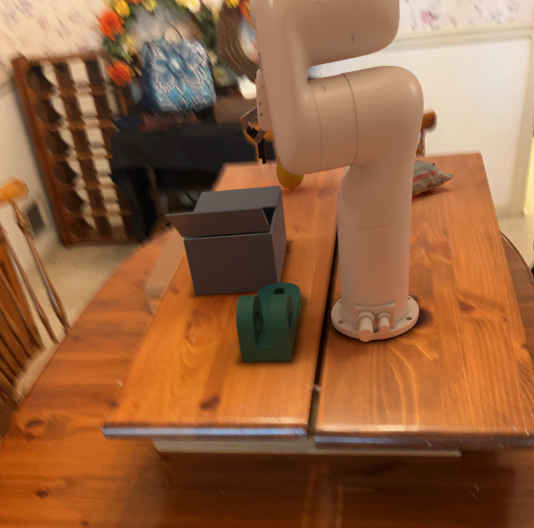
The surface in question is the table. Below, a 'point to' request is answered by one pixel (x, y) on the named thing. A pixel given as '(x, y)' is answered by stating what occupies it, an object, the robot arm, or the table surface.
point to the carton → (238, 245)
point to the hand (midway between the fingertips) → (288, 159)
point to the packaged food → (427, 177)
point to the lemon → (288, 177)
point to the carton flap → (219, 222)
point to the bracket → (268, 322)
